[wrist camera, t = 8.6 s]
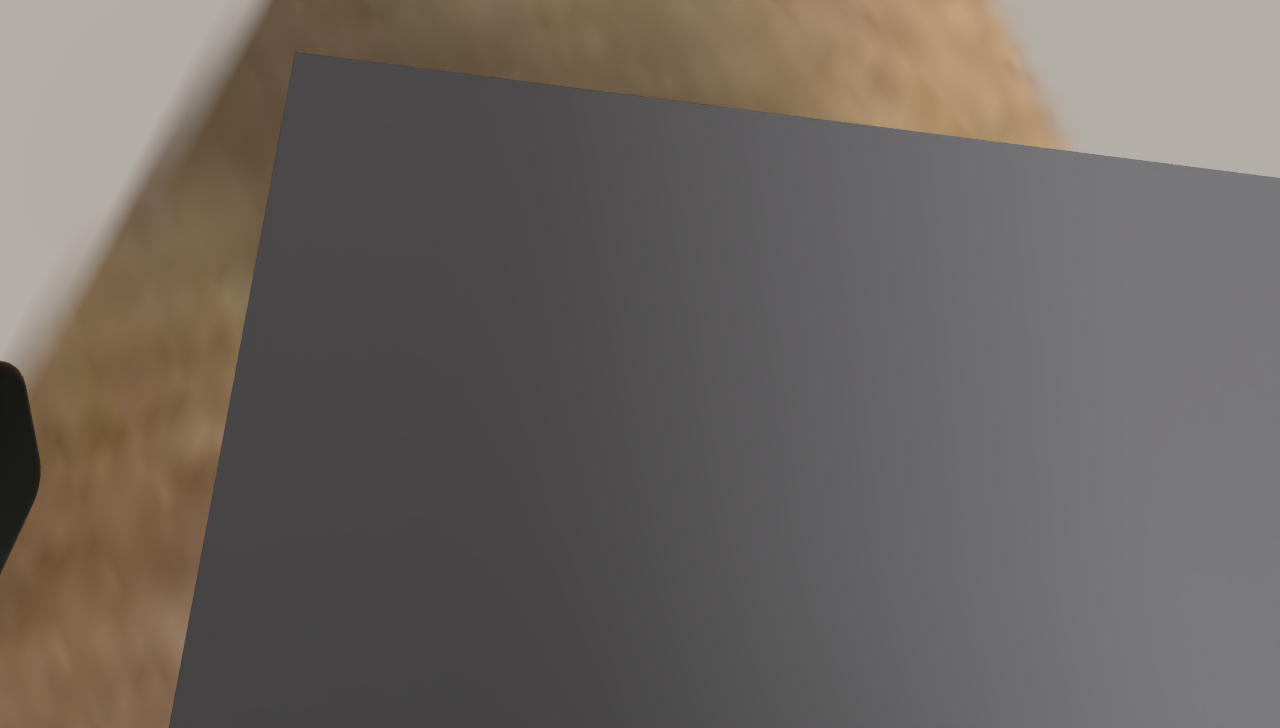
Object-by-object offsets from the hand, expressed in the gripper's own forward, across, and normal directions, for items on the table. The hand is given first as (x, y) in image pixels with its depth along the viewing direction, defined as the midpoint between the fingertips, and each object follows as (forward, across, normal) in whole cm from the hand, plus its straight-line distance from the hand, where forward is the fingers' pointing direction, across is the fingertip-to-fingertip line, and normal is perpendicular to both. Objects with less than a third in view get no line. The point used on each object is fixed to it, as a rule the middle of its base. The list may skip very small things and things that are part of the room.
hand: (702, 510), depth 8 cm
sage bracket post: (+6, 0, +7) cm, 9 cm away
